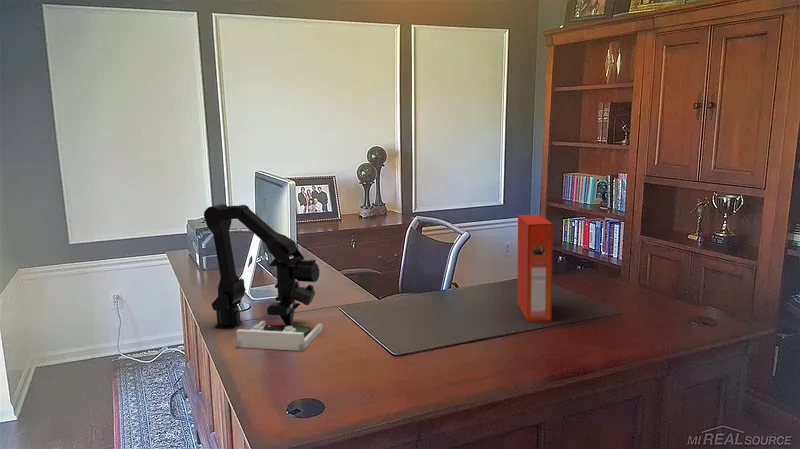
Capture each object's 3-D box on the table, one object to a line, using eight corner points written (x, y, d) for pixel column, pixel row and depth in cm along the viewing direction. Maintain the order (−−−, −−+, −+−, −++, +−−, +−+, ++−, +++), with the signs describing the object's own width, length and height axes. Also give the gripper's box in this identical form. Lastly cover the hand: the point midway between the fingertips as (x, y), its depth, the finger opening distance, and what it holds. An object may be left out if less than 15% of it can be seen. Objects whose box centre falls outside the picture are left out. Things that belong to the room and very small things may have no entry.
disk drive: (253, 345, 179) (300, 346, 176) (252, 336, 178) (300, 337, 176) (266, 332, 189) (311, 333, 186) (265, 324, 188) (310, 325, 186)
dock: (237, 347, 176) (236, 328, 175) (262, 326, 192) (261, 309, 191) (303, 350, 172) (302, 331, 171) (322, 329, 188) (321, 312, 187)
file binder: (526, 321, 191) (527, 224, 186) (516, 305, 208) (517, 215, 203) (551, 321, 191) (553, 223, 186) (539, 304, 208) (541, 214, 203)
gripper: (300, 289, 175) (303, 339, 178) (320, 272, 193) (322, 318, 196) (264, 288, 177) (268, 338, 180) (287, 271, 195) (290, 317, 198)
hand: (289, 327), depth 188 cm, fingers closed
